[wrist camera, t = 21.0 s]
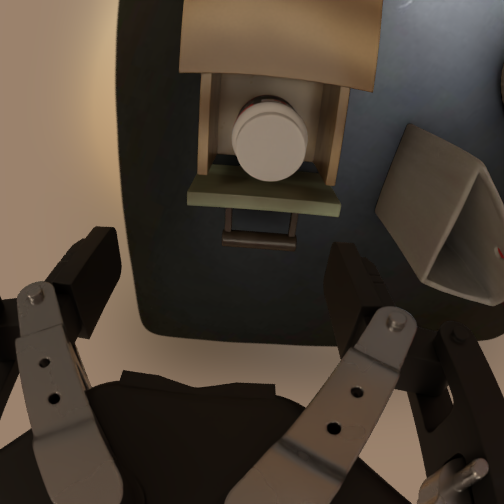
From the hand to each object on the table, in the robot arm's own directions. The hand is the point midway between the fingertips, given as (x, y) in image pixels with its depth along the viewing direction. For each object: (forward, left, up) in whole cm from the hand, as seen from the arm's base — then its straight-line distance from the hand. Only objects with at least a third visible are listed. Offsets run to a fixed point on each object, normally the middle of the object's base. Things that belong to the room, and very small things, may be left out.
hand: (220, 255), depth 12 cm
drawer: (+2, +2, -22) cm, 22 cm away
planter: (+16, +12, -23) cm, 31 cm away
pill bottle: (0, +3, -21) cm, 21 cm away
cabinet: (-9, +10, -23) cm, 27 cm away
